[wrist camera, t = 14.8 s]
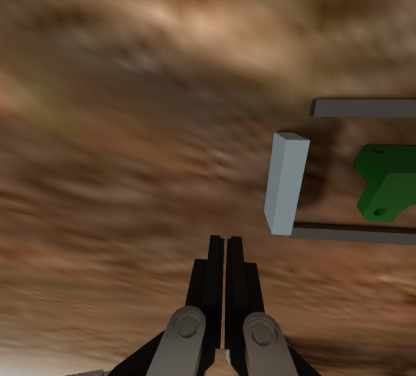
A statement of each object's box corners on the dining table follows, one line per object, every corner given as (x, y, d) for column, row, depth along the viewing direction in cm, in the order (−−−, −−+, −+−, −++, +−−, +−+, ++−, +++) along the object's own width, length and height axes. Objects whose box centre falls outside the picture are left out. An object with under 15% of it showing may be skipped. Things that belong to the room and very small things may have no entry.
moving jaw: (279, 211, 26) (291, 235, 21) (264, 211, 26) (271, 234, 21) (293, 132, 22) (310, 140, 17) (274, 132, 22) (286, 139, 17)
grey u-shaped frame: (447, 241, 25) (495, 271, 21) (287, 232, 27) (298, 258, 23) (531, 99, 19) (627, 98, 14) (312, 99, 21) (336, 98, 16)
